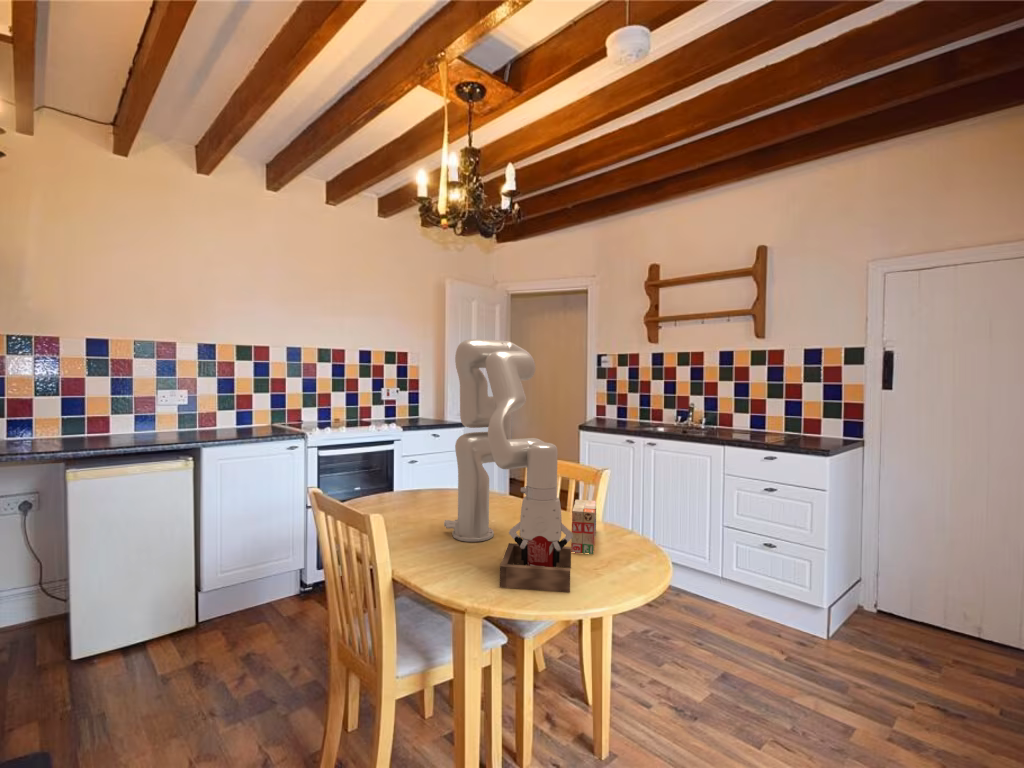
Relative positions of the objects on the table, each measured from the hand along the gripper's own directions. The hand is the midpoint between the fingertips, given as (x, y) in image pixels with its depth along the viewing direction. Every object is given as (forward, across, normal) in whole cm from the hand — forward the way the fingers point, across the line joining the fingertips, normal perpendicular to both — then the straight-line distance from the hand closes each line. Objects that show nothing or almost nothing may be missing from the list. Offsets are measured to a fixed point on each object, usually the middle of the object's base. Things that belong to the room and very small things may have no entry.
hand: (540, 563), depth 128 cm
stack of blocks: (+4, +11, +28) cm, 30 cm away
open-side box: (+3, -1, 0) cm, 3 cm away
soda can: (+3, 0, 0) cm, 3 cm away
